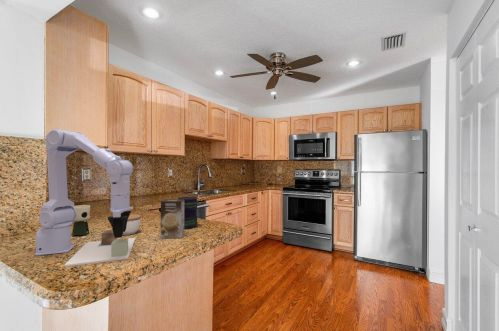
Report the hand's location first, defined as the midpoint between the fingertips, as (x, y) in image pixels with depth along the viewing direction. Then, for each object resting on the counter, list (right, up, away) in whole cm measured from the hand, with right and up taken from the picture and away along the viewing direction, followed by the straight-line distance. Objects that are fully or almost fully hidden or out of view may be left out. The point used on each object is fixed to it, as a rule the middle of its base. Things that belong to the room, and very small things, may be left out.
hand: (120, 234), depth 81 cm
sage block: (0, -7, 0) cm, 7 cm away
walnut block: (-11, -7, +12) cm, 17 cm away
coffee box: (+10, -8, +23) cm, 26 cm away
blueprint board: (-8, -7, +5) cm, 12 cm away
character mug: (-32, -8, +26) cm, 42 cm away
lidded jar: (-12, -8, +29) cm, 32 cm away
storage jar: (+13, -8, +40) cm, 43 cm away
